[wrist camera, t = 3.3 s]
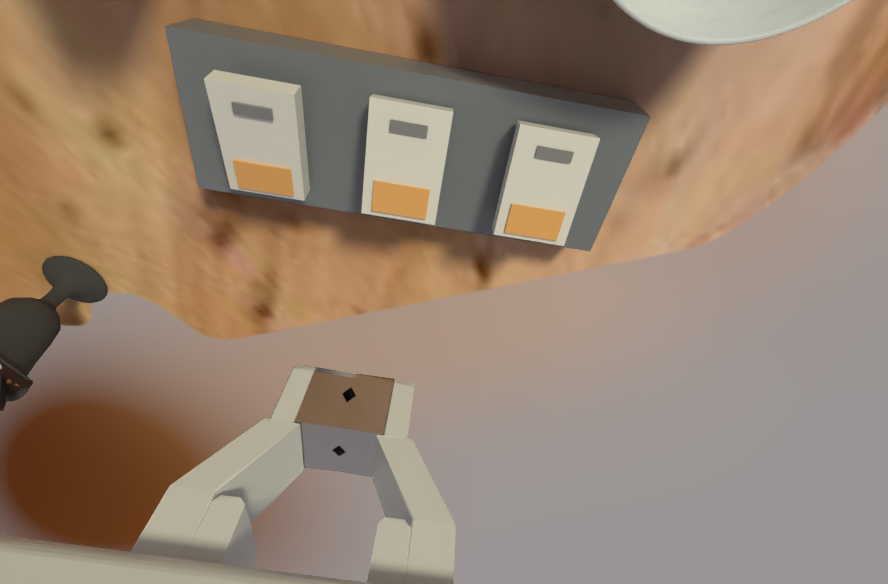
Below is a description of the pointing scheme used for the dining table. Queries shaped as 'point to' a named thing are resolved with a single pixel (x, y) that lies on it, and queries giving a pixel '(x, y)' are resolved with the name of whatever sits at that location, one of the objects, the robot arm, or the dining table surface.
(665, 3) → the chinaware
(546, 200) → the block
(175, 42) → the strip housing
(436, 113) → the rocker
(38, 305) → the sundae
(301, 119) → the rocker
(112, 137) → the dining table surface
